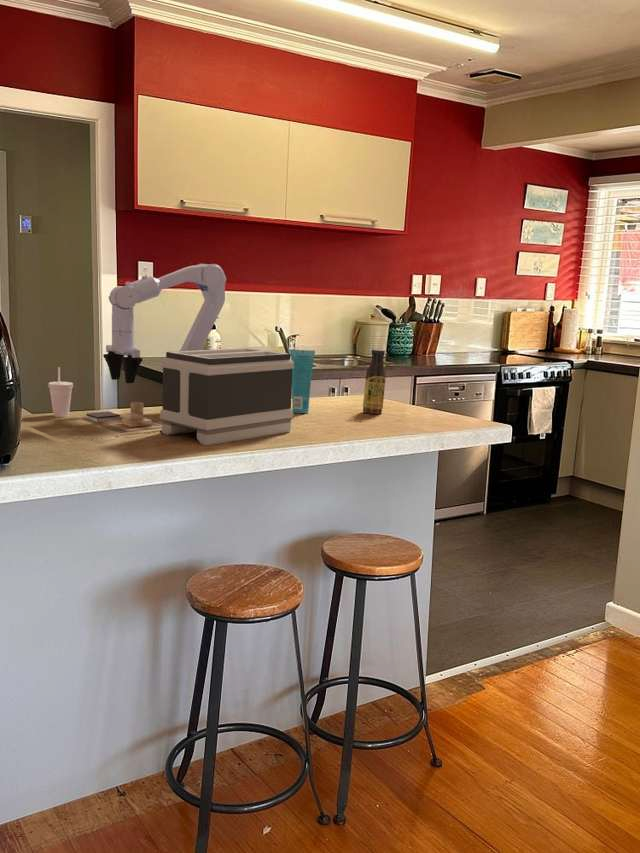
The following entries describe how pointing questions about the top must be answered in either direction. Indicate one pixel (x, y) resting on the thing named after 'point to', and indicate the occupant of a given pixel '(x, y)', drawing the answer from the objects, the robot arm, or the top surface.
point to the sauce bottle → (375, 384)
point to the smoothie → (60, 397)
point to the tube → (301, 379)
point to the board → (121, 429)
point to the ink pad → (103, 417)
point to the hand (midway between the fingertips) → (122, 381)
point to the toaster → (227, 394)
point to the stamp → (136, 417)
